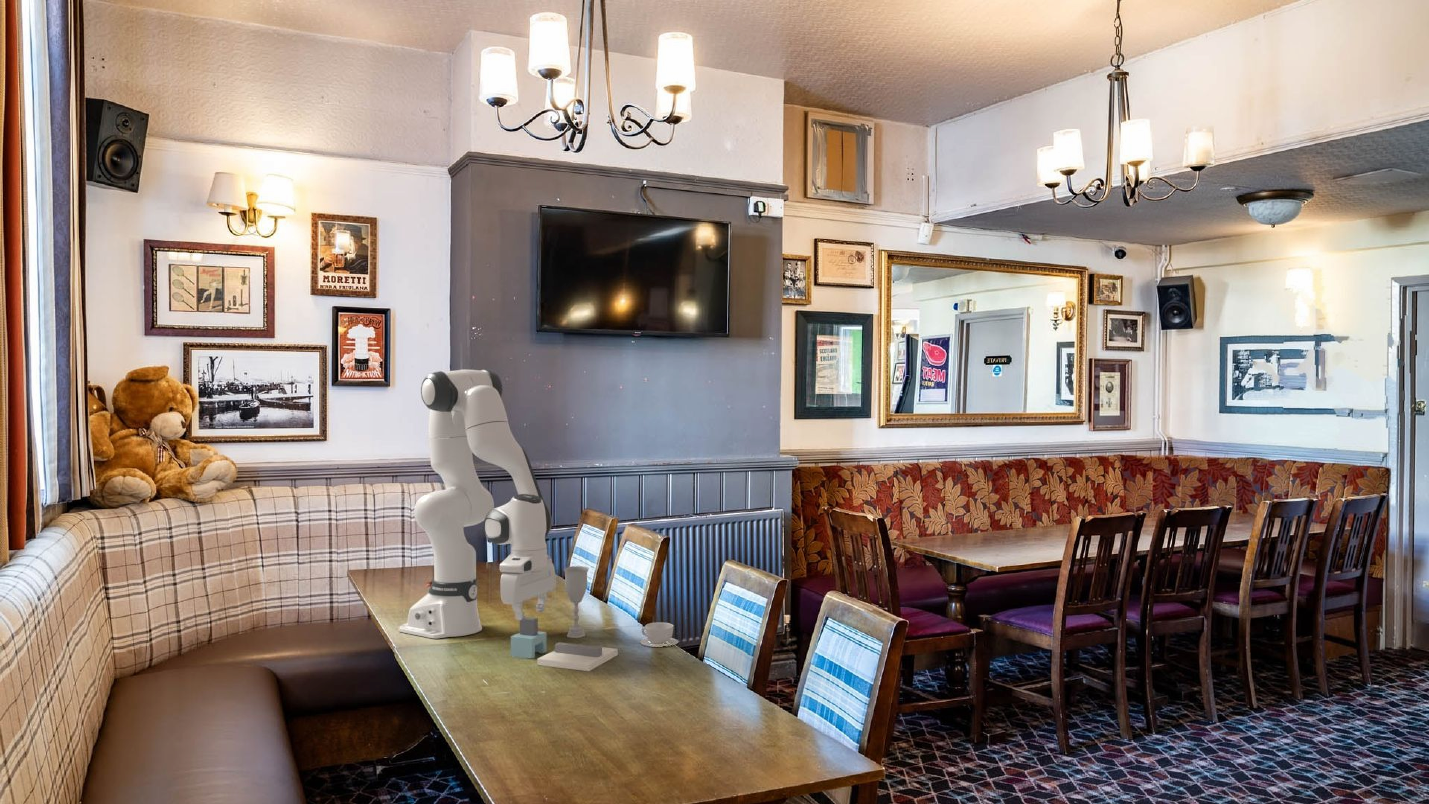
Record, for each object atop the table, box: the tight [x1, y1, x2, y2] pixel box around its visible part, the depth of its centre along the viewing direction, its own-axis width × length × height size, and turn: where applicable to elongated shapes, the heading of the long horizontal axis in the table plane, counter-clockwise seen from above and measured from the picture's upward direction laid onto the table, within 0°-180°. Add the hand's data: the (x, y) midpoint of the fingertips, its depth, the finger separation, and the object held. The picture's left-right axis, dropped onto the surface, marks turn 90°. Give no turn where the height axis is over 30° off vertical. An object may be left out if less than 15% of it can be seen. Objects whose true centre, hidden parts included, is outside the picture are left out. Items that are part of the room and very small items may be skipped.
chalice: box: [563, 565, 590, 639], centre depth 262 cm, size 7×7×18 cm
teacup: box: [639, 621, 679, 648], centre depth 255 cm, size 10×10×5 cm
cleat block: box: [510, 616, 548, 659], centre depth 244 cm, size 6×7×9 cm
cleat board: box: [536, 642, 619, 672], centre depth 239 cm, size 14×15×4 cm
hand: (530, 615), depth 243 cm, fingers open, 8 cm apart
